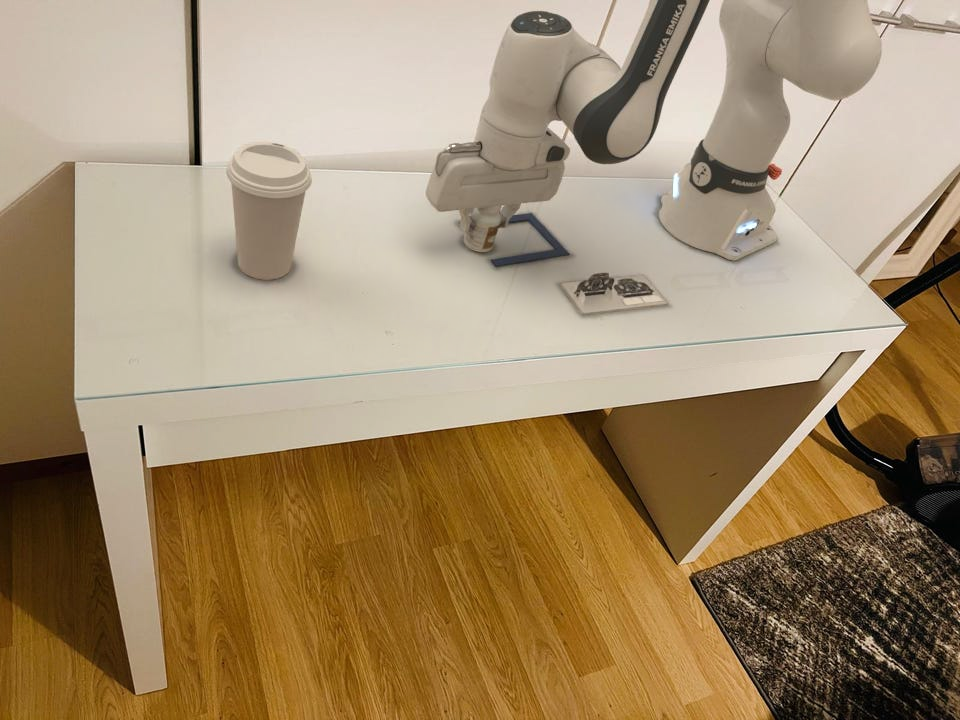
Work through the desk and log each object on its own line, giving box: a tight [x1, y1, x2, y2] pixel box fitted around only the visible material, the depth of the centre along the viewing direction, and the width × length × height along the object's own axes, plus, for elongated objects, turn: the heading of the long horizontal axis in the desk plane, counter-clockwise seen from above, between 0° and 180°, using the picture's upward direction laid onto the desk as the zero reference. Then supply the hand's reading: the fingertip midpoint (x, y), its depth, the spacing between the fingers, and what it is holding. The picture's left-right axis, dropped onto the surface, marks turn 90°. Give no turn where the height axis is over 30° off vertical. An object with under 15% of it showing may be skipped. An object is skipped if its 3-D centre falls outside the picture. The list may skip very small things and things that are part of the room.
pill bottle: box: [463, 205, 503, 253], centre depth 109 cm, size 4×4×8 cm
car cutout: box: [559, 272, 668, 317], centre depth 109 cm, size 15×7×4 cm, turn 114°
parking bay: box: [458, 212, 570, 268], centre depth 115 cm, size 14×11×1 cm
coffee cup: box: [225, 141, 313, 281], centre depth 92 cm, size 10×10×15 cm
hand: (483, 227), depth 109 cm, fingers closed on pill bottle, 4 cm apart
